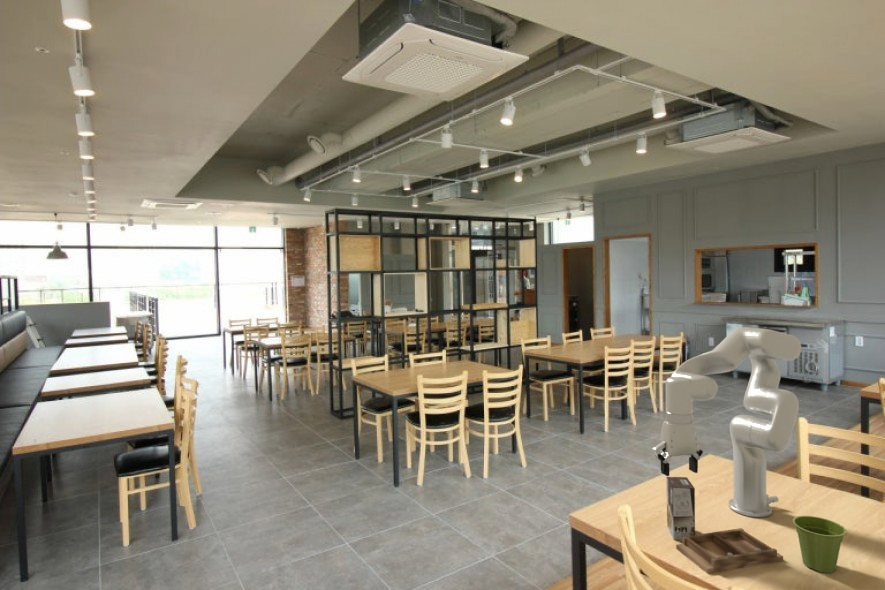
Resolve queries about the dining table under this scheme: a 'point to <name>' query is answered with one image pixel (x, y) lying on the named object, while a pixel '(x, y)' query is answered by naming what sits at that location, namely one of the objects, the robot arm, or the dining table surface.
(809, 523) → the plant pot
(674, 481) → the coffee box
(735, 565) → the divided wooden tray
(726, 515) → the dining table surface
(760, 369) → the robot arm
